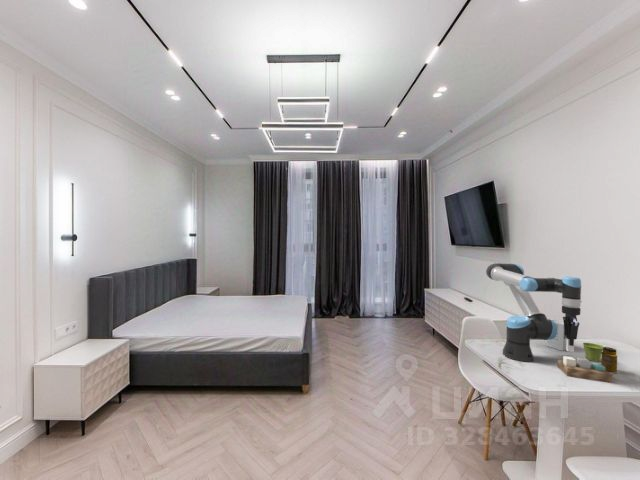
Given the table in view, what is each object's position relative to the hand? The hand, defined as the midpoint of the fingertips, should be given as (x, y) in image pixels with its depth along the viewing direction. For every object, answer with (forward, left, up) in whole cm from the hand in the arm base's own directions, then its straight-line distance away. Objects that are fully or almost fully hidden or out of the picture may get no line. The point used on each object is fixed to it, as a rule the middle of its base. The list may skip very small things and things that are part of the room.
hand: (570, 351), depth 154 cm
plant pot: (+21, +27, -12) cm, 36 cm away
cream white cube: (0, 0, -8) cm, 8 cm away
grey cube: (+6, 0, -8) cm, 10 cm away
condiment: (+21, +12, -12) cm, 27 cm away
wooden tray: (+6, 0, -11) cm, 13 cm away
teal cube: (+12, 0, -10) cm, 15 cm away
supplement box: (+10, +44, -12) cm, 46 cm away
